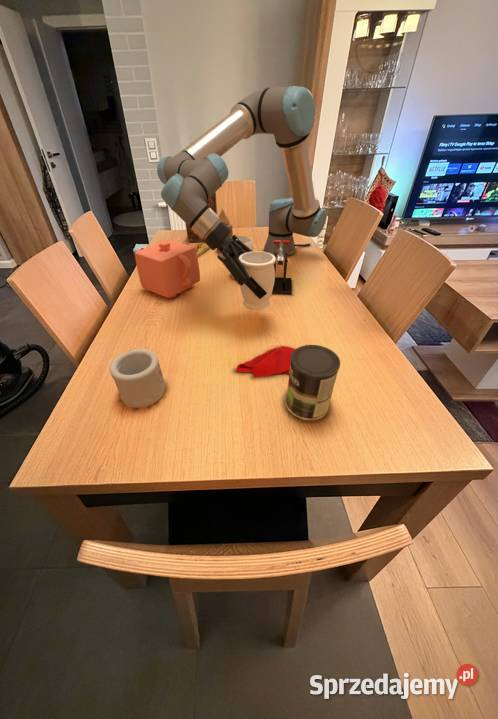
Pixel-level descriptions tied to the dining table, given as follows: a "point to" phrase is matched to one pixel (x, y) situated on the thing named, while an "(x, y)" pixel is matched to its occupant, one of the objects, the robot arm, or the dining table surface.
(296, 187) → the robot arm
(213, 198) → the book
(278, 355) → the cloth
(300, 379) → the coffee can
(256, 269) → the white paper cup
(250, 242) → the cup
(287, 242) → the corkscrew
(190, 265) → the teapot
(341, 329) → the dining table surface
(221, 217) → the decorative item
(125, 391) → the grey hollow cylinder
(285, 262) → the lever stand
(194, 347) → the dining table surface
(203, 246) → the pizza slice
